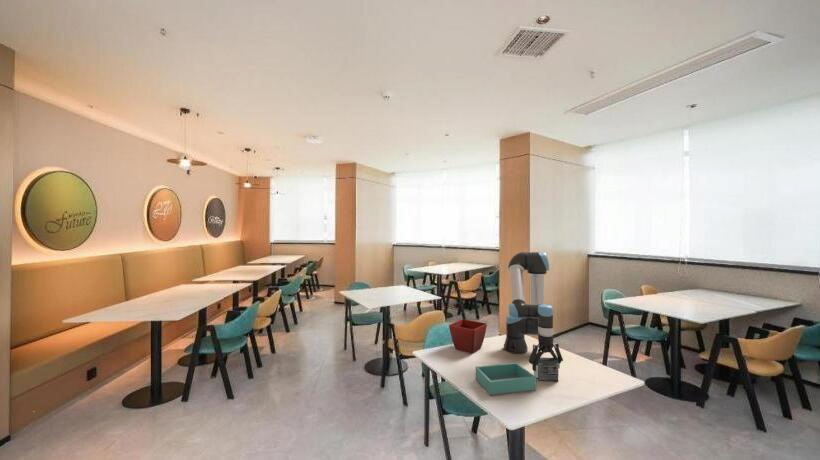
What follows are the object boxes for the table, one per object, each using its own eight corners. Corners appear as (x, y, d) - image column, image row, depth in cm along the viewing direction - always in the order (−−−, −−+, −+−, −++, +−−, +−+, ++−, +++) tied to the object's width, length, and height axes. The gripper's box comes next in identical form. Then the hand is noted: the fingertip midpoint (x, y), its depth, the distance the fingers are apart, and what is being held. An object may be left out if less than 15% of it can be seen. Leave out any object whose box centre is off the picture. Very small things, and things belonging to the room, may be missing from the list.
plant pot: (463, 342, 235) (462, 318, 235) (487, 348, 223) (487, 323, 223) (448, 350, 220) (448, 324, 220) (474, 356, 208) (473, 330, 208)
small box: (554, 376, 179) (554, 357, 179) (558, 381, 172) (558, 361, 172) (534, 375, 180) (534, 356, 180) (537, 381, 173) (537, 361, 173)
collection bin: (517, 375, 180) (516, 362, 180) (535, 391, 163) (535, 376, 163) (475, 380, 176) (475, 366, 176) (490, 396, 158) (490, 381, 158)
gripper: (561, 330, 182) (561, 370, 182) (521, 334, 177) (522, 374, 177) (570, 335, 175) (570, 376, 175) (529, 338, 170) (529, 380, 170)
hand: (546, 375), depth 176 cm, fingers closed on small box, 11 cm apart
